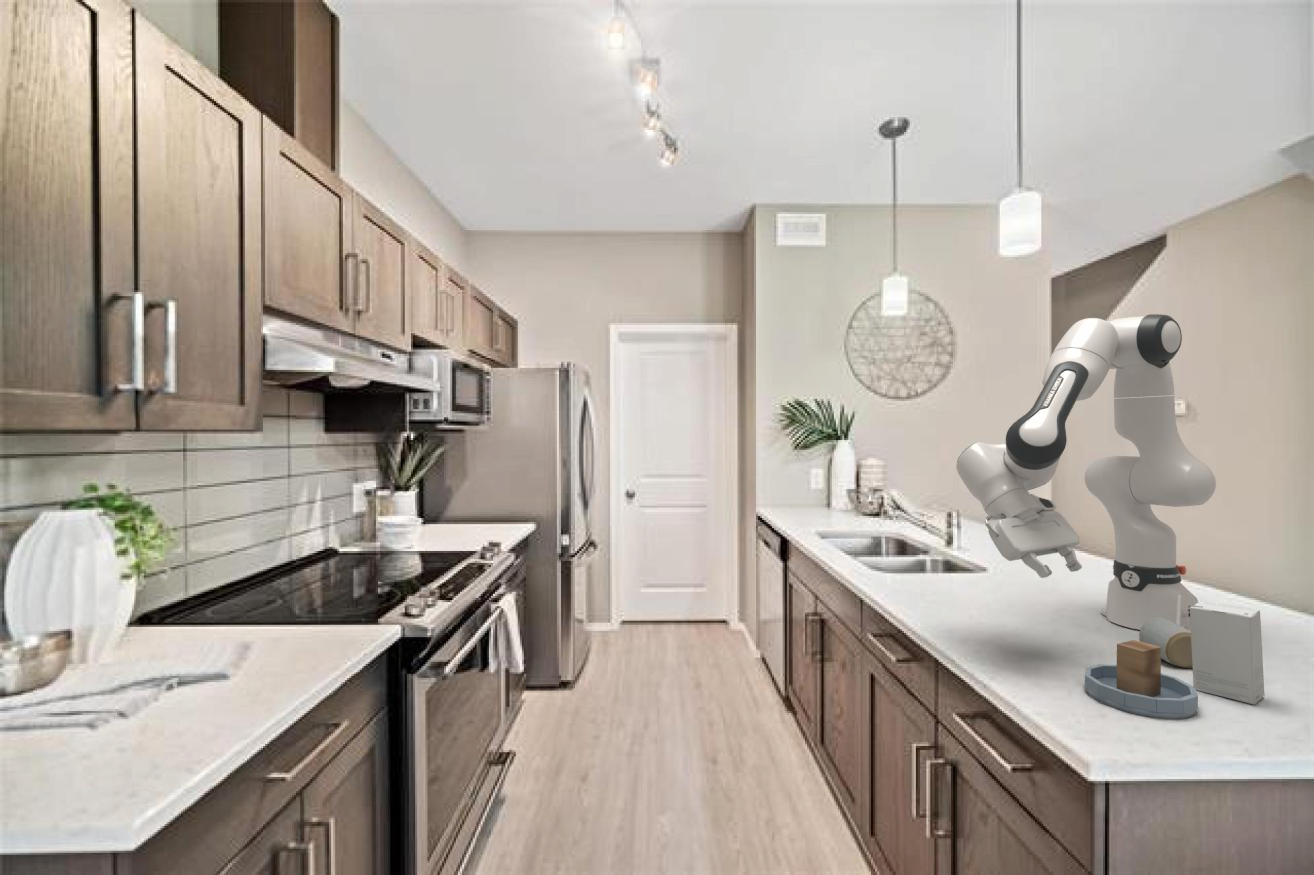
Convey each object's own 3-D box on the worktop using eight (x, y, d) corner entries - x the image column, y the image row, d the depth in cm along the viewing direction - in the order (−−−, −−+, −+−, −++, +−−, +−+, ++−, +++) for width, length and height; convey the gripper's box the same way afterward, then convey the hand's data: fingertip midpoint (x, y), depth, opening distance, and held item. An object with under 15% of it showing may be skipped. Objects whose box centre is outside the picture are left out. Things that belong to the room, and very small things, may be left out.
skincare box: (1264, 697, 104) (1265, 610, 104) (1253, 706, 101) (1254, 616, 101) (1200, 681, 111) (1201, 599, 111) (1188, 689, 108) (1189, 604, 108)
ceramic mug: (1167, 669, 117) (1168, 628, 117) (1137, 653, 125) (1138, 615, 125) (1227, 672, 116) (1228, 631, 116) (1193, 656, 124) (1194, 618, 124)
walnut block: (1134, 685, 107) (1134, 639, 107) (1160, 694, 103) (1160, 647, 103) (1116, 690, 105) (1116, 643, 105) (1143, 700, 101) (1143, 651, 101)
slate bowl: (1117, 675, 114) (1117, 659, 114) (1216, 708, 101) (1216, 689, 100) (1065, 689, 108) (1065, 672, 108) (1163, 726, 94) (1163, 707, 94)
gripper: (992, 507, 118) (1041, 570, 110) (1057, 500, 127) (1106, 558, 119) (970, 526, 122) (1015, 588, 114) (1034, 517, 132) (1080, 574, 123)
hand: (1062, 572), depth 117 cm, fingers open, 8 cm apart
